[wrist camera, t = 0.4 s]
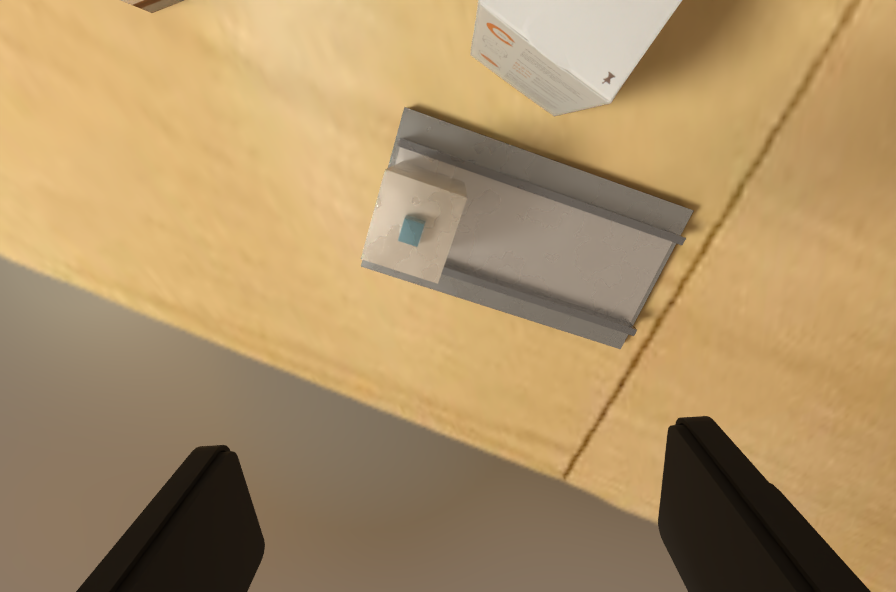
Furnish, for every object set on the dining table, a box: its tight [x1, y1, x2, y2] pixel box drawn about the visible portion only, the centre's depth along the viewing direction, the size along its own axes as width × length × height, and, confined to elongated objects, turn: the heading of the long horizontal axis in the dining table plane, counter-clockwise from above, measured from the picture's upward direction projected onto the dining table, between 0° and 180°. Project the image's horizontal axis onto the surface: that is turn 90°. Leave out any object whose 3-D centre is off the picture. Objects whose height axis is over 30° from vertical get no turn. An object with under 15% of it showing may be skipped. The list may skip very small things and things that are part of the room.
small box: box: [471, 0, 682, 116], centre depth 26 cm, size 8×6×13 cm
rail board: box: [361, 107, 693, 349], centre depth 31 cm, size 13×24×12 cm, turn 71°
